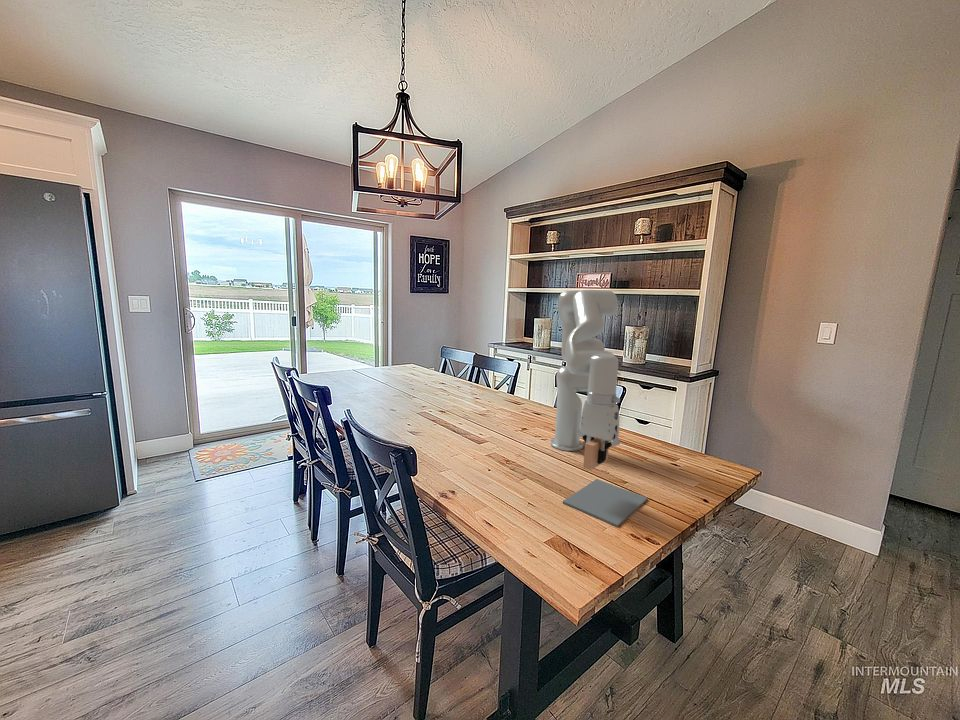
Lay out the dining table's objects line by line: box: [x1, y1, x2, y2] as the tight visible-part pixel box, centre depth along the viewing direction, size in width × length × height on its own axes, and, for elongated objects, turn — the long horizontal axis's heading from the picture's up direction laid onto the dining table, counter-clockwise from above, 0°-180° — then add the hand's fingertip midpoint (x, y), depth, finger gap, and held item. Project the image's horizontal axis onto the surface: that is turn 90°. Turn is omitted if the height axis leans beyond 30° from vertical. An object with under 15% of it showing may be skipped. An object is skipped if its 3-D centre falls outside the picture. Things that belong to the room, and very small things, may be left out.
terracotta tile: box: [583, 438, 610, 471], centre depth 112 cm, size 10×2×7 cm, turn 136°
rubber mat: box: [562, 478, 648, 528], centre depth 112 cm, size 20×16×1 cm
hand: (596, 460), depth 112 cm, fingers closed on terracotta tile, 2 cm apart
